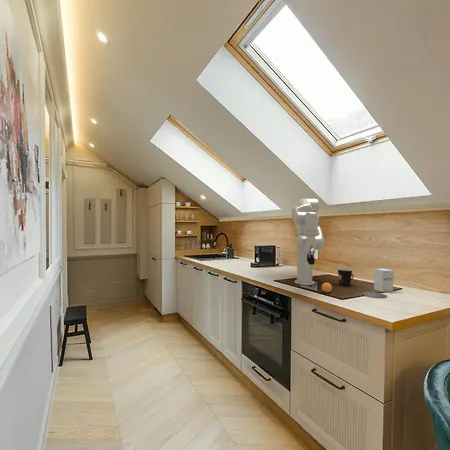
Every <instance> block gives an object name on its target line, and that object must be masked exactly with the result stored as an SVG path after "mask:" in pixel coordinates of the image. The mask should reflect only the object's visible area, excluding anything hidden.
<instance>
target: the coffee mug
mask: <svg viewBox="0 0 450 450" xmlns="http://www.w3.org/2000/svg"><path fill="white" fill-rule="evenodd" d="M337 274H338V276H337V277H338V284H339V286H342V287H350V286H351V283H352V280H353V279H354V274H353V269H351V268H337Z"/></svg>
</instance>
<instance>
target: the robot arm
mask: <svg viewBox="0 0 450 450" xmlns="http://www.w3.org/2000/svg"><path fill="white" fill-rule="evenodd" d="M320 207H321V205H320V201H319V199H318V198H300V199H299V200H298V201H297V204H296V205H295V206H293V207H292V208H291V218H292V221H293V222H294V224H295V227H296V234H297V237H296V240H295V241H296V242H295V243H296V250H297V253H296V254H297V255H296V256H297V264H296V265H297V267H296V271H297V273H296V279H295V280H294V283H295V284H297V285H301V286H314V285H315V281H314V280H313V265H315V254H316V251H319V250H320V251H321V250H323V249H324V248H325V239H324V235H323V231H322V230H323V229H322V228H321V226H319V222H320V215H319V211H320Z"/></svg>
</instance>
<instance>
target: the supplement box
mask: <svg viewBox="0 0 450 450" xmlns="http://www.w3.org/2000/svg"><path fill="white" fill-rule="evenodd" d="M394 272H395V271H394V270H392V269H389V268H374V275H373V276H374V277H373V278H374V279H373V282H374V283H373V285H374V286H373V287H374V288H373V290H375V291H379V292H381V293H384V292H387V293H388V292H389V293H390V292H391V293H392V292H394V274H395V273H394Z"/></svg>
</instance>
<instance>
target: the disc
mask: <svg viewBox="0 0 450 450" xmlns="http://www.w3.org/2000/svg"><path fill="white" fill-rule="evenodd" d="M361 293H363V294H364V296H363V297H367V298H373V299H387V298H388V295H387V294H384V293H382V292H381V293H380V292H376V291H375V292H373V291H363V292H361Z"/></svg>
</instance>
